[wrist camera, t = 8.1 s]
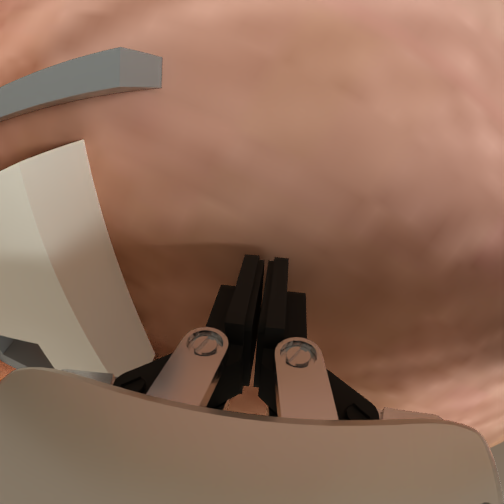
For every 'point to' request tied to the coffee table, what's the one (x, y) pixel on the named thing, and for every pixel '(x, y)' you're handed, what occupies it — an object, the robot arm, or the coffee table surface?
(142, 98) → the coffee table surface
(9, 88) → the bay
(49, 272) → the t block
